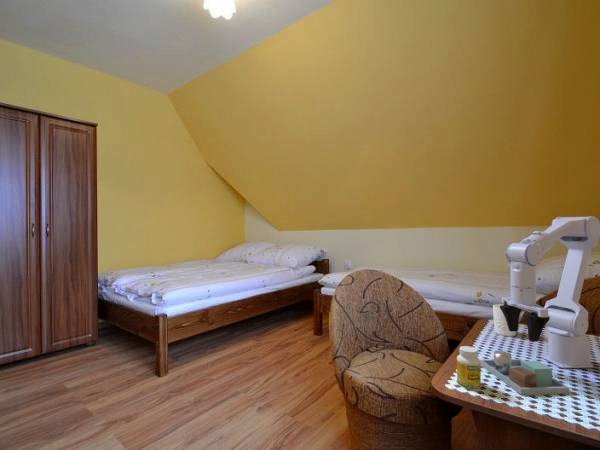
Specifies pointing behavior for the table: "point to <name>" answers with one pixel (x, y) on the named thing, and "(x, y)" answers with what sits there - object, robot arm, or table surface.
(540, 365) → the teal block
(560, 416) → the table surface
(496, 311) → the white cup
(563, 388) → the tray
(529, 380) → the walnut cube
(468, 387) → the supplement bottle
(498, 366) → the cylinder
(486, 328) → the table surface
